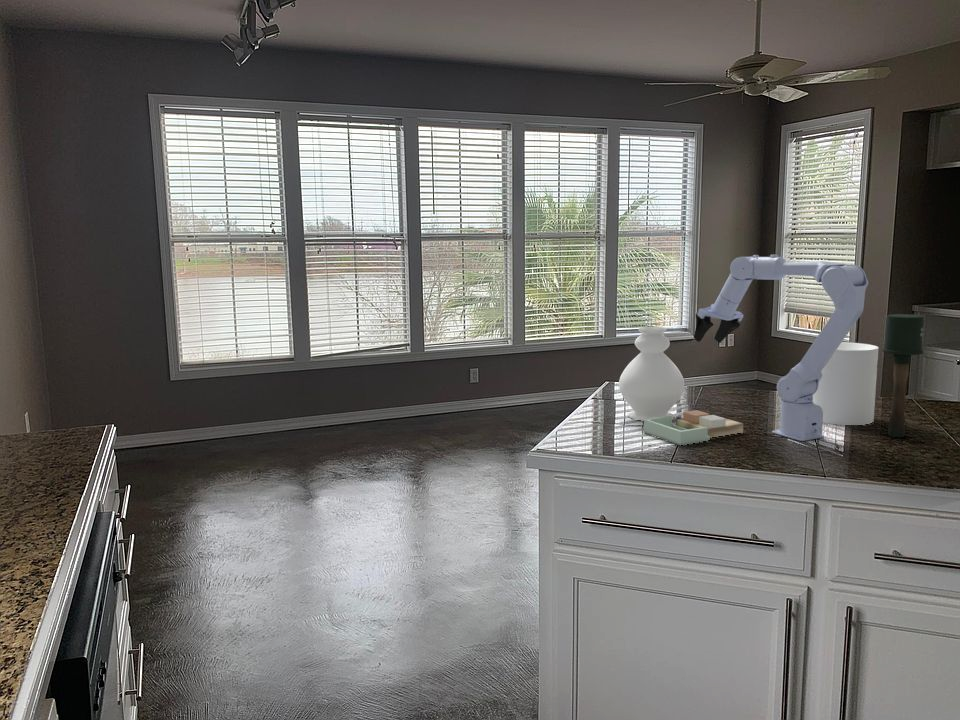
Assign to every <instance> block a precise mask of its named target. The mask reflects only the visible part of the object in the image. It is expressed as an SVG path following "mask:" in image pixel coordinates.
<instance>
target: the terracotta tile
mask: <svg viewBox="0 0 960 720" xmlns="http://www.w3.org/2000/svg"><path fill="white" fill-rule="evenodd" d="M682 414H683V415H682V419H683V420H686V421H689V422H693V423H699V417H702V416H708V415H710V413H708V412H704V411H701V410H697V409H695V410H689V411H683V413H682Z"/></svg>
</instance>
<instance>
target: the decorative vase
mask: <svg viewBox="0 0 960 720" xmlns="http://www.w3.org/2000/svg"><path fill="white" fill-rule="evenodd" d="M667 330H668V328H666V327H664V326H640V327H638V332H639V333H641V334H640V335H639V336H637V338H635V340H634V346H635V347H636V349H638V351H640V352H639V353H638V354H637V355H636V356H635V357H634V358H633V359H632V360H631V361H629V363H628V364H627V366H626V367H625V368H624V370H623V371H622V373H621V375H620V377H619V381H618V388H619V393H620V394H621V396H622V398H623V399H624V400H625V402H626V403H627V404H628V405H629V406H630V407H631V409H632V411H630V412H628V413H627V417H628V416H629V417H630V418H629V417H628V418H629V419H631V418H633V419H637V420H641V421H640V422H643V421H644V420H645V419H652V418H658V417H665V416H672V420H674V418H675V415H674V414H673V413H672V412H670V410H671V409H672V408H673V407H674V406H675V405H676V403H677V402H678V401H679V399H681V397H682V396H683V394H684V392H685V380H684V377H683V375H682V373H681V371H680V369H679V368H678V367H677V365H676V364H675V363H674V361H672V360H671V358H670V357H668V356H667V354H666V353H664V352H665V351H666V350H667V349H668V348H669V347H670V345H671V343H670V340H669V338H668V337H667V336H666V335H665V334H664V333H666V332H667ZM633 419H632V420H633ZM637 420H636V421H637Z"/></svg>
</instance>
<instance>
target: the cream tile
mask: <svg viewBox="0 0 960 720" xmlns="http://www.w3.org/2000/svg"><path fill="white" fill-rule="evenodd" d="M726 419H727V418H725V417H721V416H718V415H716V414H709V415H708V416H702V417H699V425H702V426H706V427H709V428H717V427H723V426H725V425H726Z"/></svg>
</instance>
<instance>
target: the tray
mask: <svg viewBox="0 0 960 720" xmlns="http://www.w3.org/2000/svg"><path fill="white" fill-rule="evenodd" d="M672 421H673V419H672V416H665V417H658V418H652V419H645V420H644V422H643V433H644V432H645V433H644V434H646V433H648V434H651V435H653V436H652V437H654V436H656V437H655V438H657V437H659V438H658V439H660V438H661V439H660V440H662V439H664V440H663V441H665V440H667V441H666V442H668V441H669V442H668V443H671V442H672V443H671V444H673V443H675V444H674V445H676V444H677V445H676V446H679V445H680V446H679V447H682V446H681V445H683V446H687V444H689V445H694V444H693V443H695V444H700V443H704V442H703V441H706V442H709V441H708V440H711V439H710V436H708V435H707V433H708V427H701V428H695V429H686V428H683V427H680V426H677V424H673V422H672ZM648 434H647V435H648ZM651 435H650V436H651ZM699 442H700V443H699Z"/></svg>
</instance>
